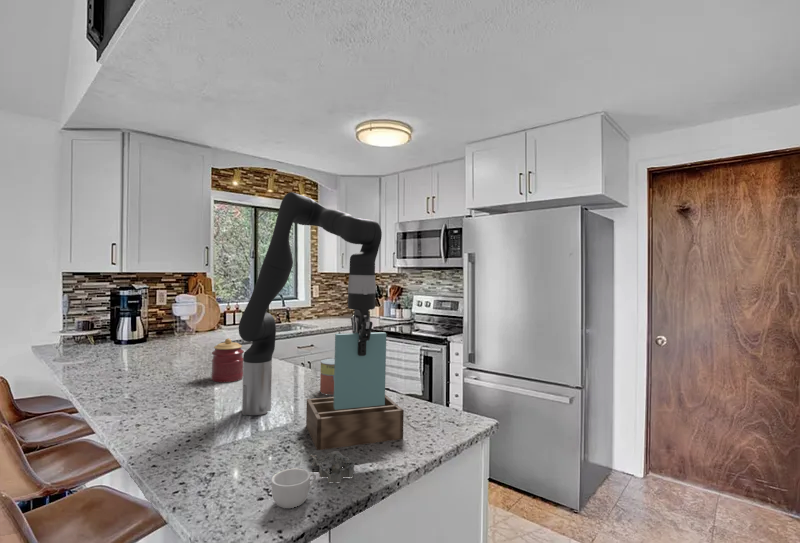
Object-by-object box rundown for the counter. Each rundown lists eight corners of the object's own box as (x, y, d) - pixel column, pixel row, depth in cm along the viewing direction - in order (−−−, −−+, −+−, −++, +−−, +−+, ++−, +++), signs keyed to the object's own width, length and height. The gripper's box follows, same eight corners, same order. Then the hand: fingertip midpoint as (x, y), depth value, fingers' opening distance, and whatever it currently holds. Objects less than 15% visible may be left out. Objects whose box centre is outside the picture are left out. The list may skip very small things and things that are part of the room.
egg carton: (307, 470, 103) (307, 453, 103) (334, 461, 108) (334, 445, 108) (331, 487, 95) (331, 469, 95) (358, 477, 100) (358, 459, 100)
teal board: (335, 409, 114) (336, 334, 114) (333, 407, 115) (335, 333, 115) (384, 405, 119) (386, 333, 119) (382, 402, 121) (384, 332, 120)
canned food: (329, 397, 162) (330, 365, 162) (314, 390, 170) (315, 360, 170) (354, 392, 169) (354, 361, 169) (338, 385, 178) (339, 357, 178)
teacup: (283, 518, 83) (284, 490, 83) (263, 503, 88) (264, 476, 88) (325, 499, 90) (326, 473, 90) (305, 485, 95) (305, 461, 95)
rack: (316, 455, 110) (317, 419, 110) (306, 431, 127) (306, 399, 127) (402, 444, 119) (403, 410, 119) (382, 422, 136) (382, 392, 136)
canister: (249, 378, 187) (250, 338, 187) (223, 384, 176) (224, 342, 176) (231, 374, 194) (231, 335, 194) (204, 379, 183) (205, 338, 183)
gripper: (342, 290, 122) (341, 350, 122) (355, 293, 109) (353, 360, 109) (367, 290, 125) (366, 349, 125) (382, 293, 112) (381, 358, 112)
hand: (360, 354), depth 117 cm, fingers closed on teal board, 2 cm apart
